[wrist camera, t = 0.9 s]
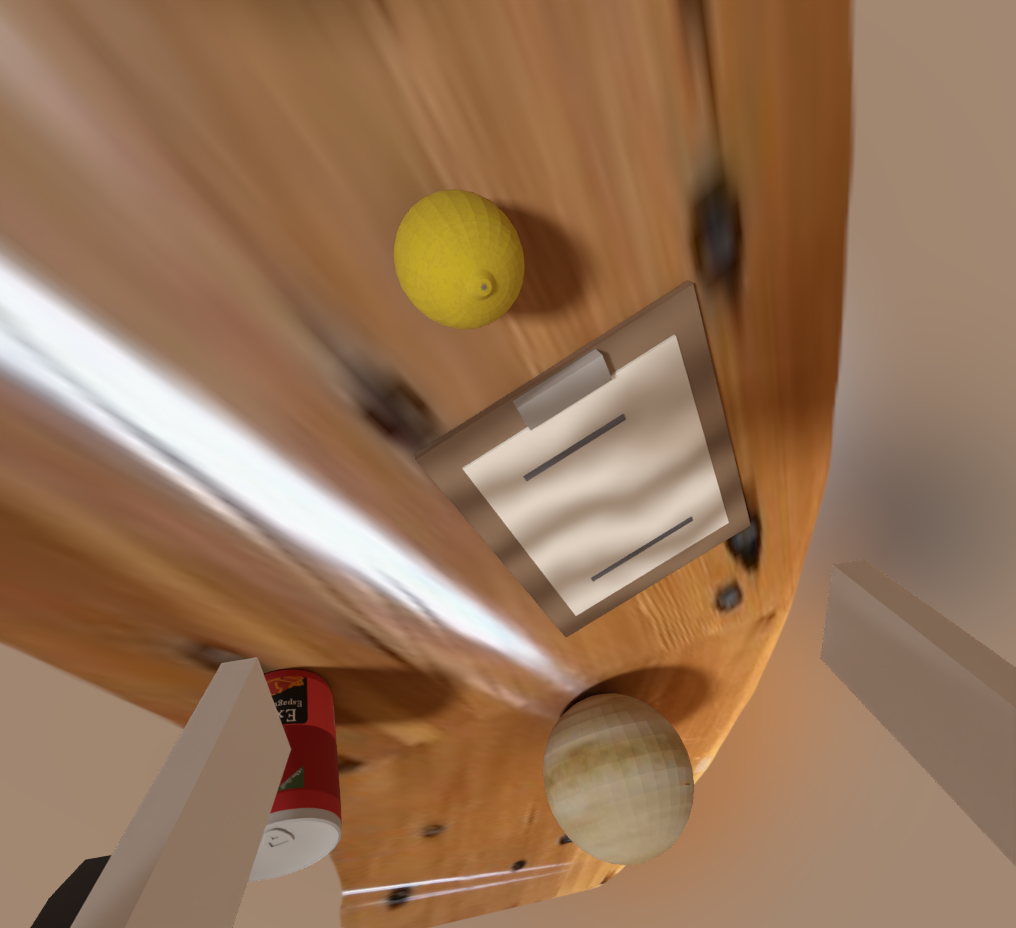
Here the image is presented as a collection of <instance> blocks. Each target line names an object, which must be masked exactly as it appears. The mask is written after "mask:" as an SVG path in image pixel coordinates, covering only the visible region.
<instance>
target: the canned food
mask: <svg viewBox="0 0 1016 928" xmlns="http://www.w3.org/2000/svg"><path fill="white" fill-rule="evenodd" d="M264 677H265V679H266V682H267V685H268V688H269V690H270V693H271V696H272V699H273V701H274V704H275V707H276V709H277V712H278V715H279V718H280V720H281V723H282V726H283V729H284V731H285V734H286V737H287V739H288V742H289V745H290V748H291V751H290V754H289V757H288V760H287V763H286V766H285V769H284V772H283V775H282V778H281V781H280V784H279V788H278V791H277V794H276V797H275V800H274V803H273V806H272V809H271V812H270V815H269V818H268V821H267V824H266V827H265V830H264V833H263V836H262V839H261V842H260V845H259V848H258V852H257V855H256V858H255V861H254V864H253V867H252V870H251V873H250V876H249V879H248V881H258V880H266V879H272V878H276V877H280V876H284V875H287V874H290V873H293V872H296V871H299V870H301V869H303V868H306V867H308V866H310V865H312V864H314V863H315V862H317V861H319V860H320V859H322V858H323V857H325V856H326V855H327V854H328V853H330V852H331V851H332V850H333V849H334V848H335V847H336V846H337V844H338V842H339V841H340V838H341V826H342V821H341V801H340V787H339V773H338V759H337V745H336V731H335V716H334V702H333V695H332V692H331V690H330V687H329V685H328V684H327V682H326V681H325V680H324V679H323V678H322V677H321V676H319V675H317V674H315V673H312V672H309V671H305V670H298V669H287V670H278V671H274V672H269V673H266V674H264Z"/></svg>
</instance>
